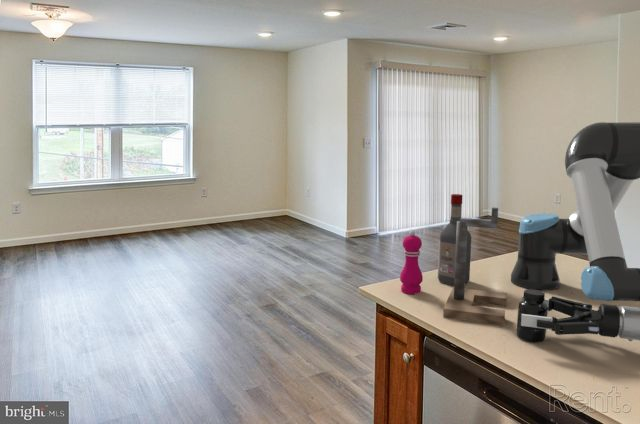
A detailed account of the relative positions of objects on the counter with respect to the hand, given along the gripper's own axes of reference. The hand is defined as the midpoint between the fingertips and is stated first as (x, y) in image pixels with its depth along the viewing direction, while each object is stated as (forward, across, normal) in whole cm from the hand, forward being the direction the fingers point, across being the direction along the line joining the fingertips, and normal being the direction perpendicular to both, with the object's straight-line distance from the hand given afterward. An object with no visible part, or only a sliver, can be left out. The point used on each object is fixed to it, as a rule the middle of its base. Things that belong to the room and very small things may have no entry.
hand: (521, 310), depth 126 cm
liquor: (+21, +40, -7) cm, 46 cm away
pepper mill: (+33, +25, -7) cm, 42 cm away
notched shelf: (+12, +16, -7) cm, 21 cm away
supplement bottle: (-3, 0, -7) cm, 8 cm away
